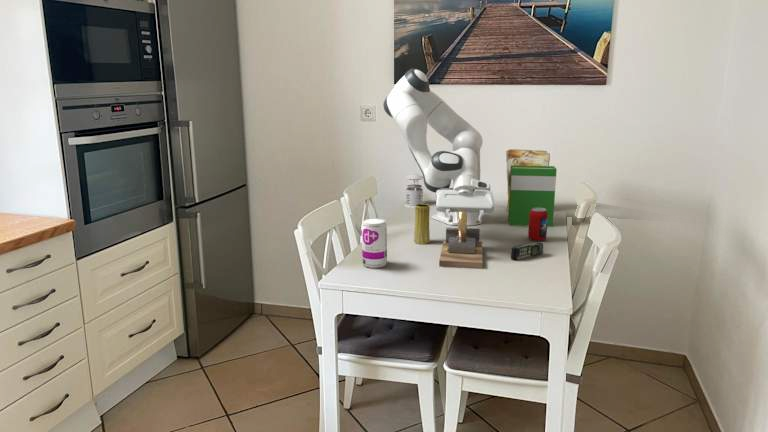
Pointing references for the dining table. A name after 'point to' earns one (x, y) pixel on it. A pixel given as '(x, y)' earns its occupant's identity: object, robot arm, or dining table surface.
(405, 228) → the dining table surface
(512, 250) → the mobile phone
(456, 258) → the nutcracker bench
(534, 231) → the beverage can
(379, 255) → the supplement can
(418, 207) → the vase
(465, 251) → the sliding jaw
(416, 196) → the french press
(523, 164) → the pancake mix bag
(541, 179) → the hardback book
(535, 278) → the dining table surface
